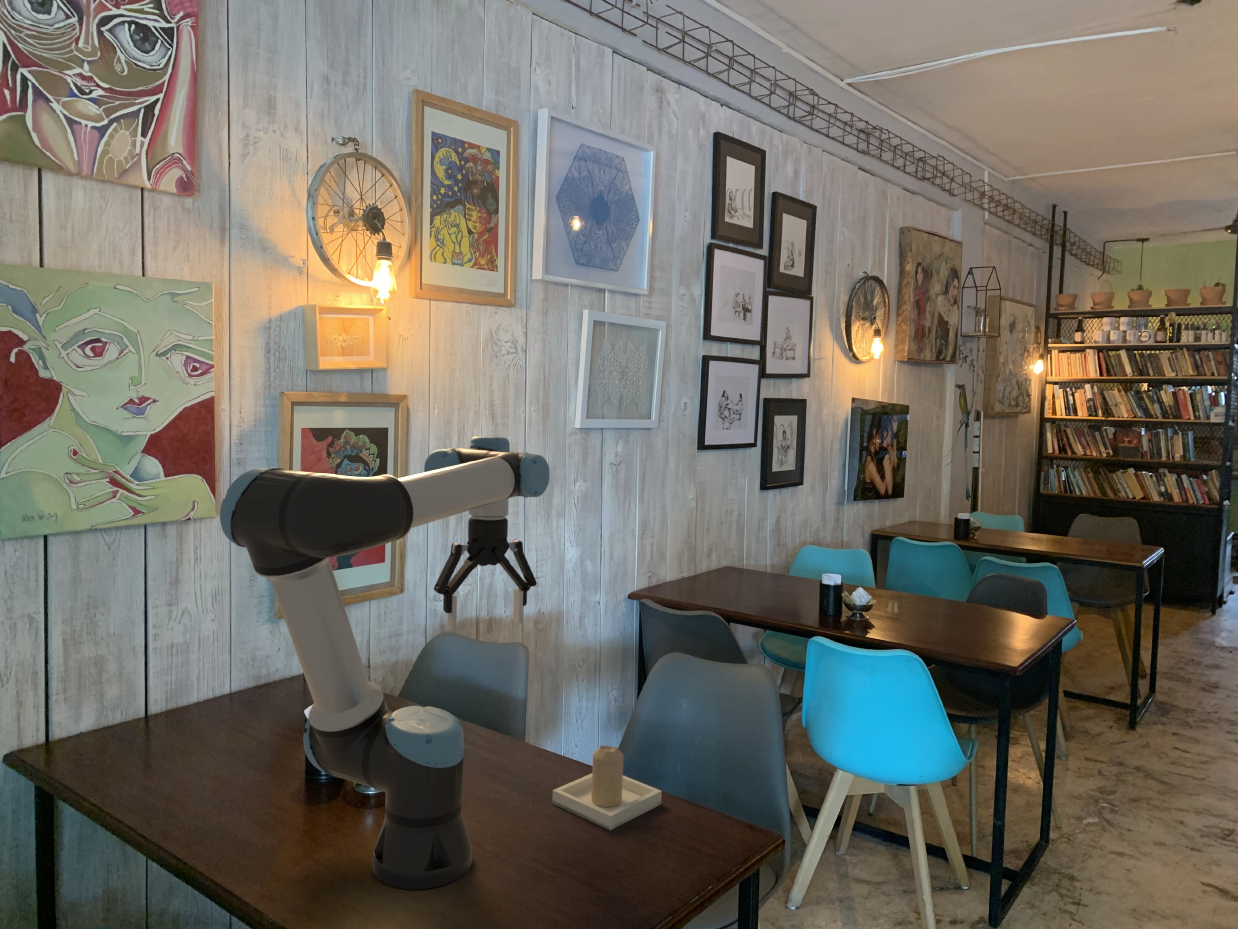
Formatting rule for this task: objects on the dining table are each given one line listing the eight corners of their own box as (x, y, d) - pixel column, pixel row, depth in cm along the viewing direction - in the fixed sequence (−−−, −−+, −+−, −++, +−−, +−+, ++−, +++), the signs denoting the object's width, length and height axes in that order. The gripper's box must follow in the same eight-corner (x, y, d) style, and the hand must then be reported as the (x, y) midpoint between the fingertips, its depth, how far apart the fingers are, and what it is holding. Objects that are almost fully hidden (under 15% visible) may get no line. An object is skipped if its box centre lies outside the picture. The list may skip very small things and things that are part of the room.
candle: (623, 795, 162) (625, 742, 162) (620, 809, 157) (622, 754, 156) (593, 793, 163) (595, 740, 162) (589, 806, 157) (591, 752, 157)
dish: (661, 804, 161) (661, 790, 160) (610, 830, 150) (610, 816, 150) (604, 780, 170) (604, 767, 170) (552, 803, 159) (552, 790, 159)
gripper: (538, 512, 178) (535, 615, 180) (418, 516, 165) (416, 627, 167) (555, 517, 172) (551, 624, 173) (431, 521, 159) (429, 637, 161)
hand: (485, 626), depth 170 cm, fingers open, 13 cm apart
